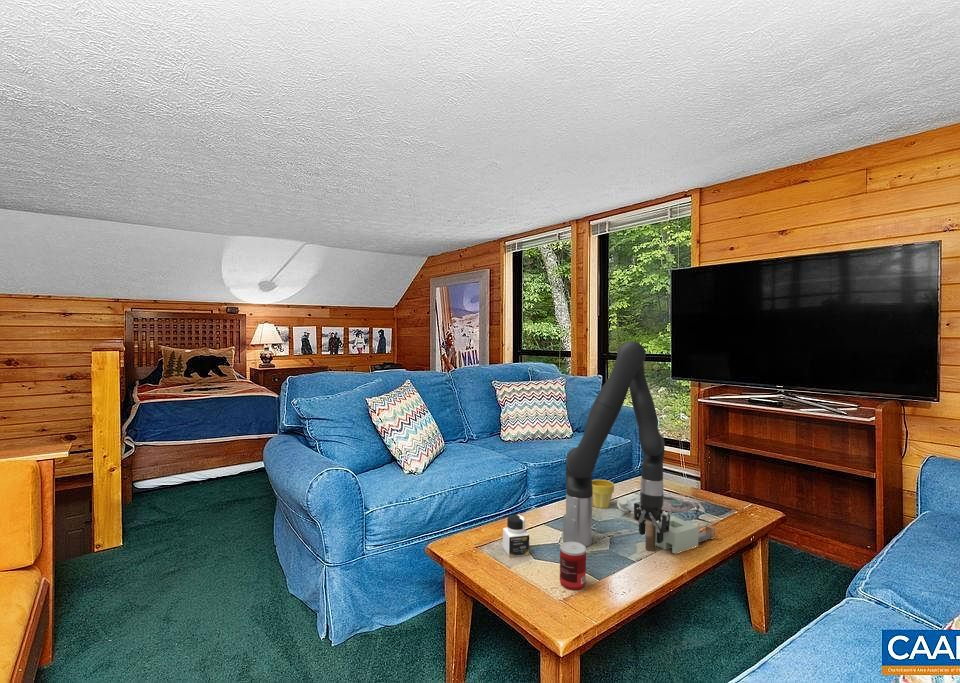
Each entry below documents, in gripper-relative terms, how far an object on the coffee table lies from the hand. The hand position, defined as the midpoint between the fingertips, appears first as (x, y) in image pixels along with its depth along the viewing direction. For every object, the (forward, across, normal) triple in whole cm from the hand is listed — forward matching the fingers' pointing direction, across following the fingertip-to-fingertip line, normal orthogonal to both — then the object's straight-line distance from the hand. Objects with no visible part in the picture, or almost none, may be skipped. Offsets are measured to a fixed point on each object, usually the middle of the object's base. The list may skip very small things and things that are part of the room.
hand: (650, 538), depth 168 cm
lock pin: (+4, +4, +21) cm, 22 cm away
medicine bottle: (+4, -20, -43) cm, 47 cm away
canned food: (+4, +5, -39) cm, 39 cm away
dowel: (+4, 0, 0) cm, 4 cm away
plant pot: (+4, -39, +14) cm, 41 cm away
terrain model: (+5, -24, +39) cm, 46 cm away
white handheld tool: (+2, -17, +17) cm, 24 cm away
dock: (+4, +1, +10) cm, 11 cm away
